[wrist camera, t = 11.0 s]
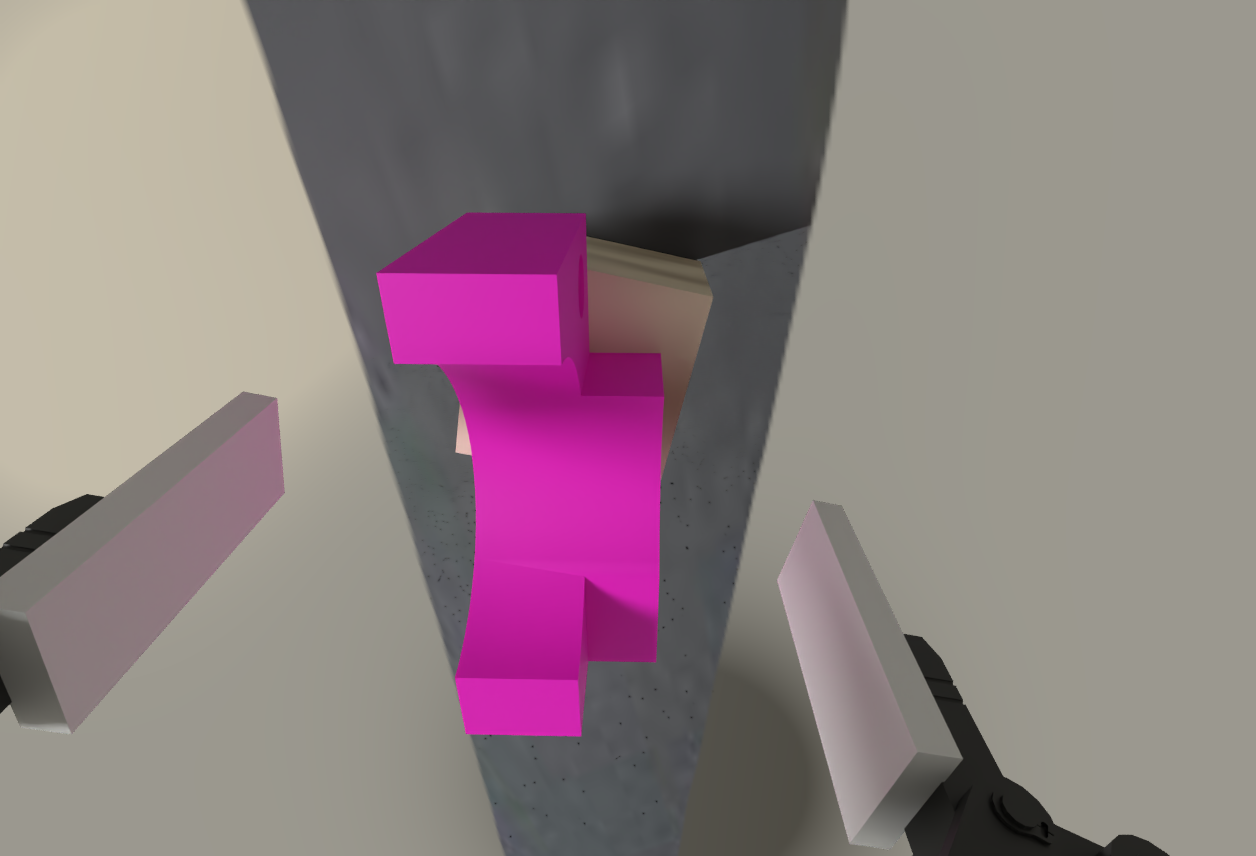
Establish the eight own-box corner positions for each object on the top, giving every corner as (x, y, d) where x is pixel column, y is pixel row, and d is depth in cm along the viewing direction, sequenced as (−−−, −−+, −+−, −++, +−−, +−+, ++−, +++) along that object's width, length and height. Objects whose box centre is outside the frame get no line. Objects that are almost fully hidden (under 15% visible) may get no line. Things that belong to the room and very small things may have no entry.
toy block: (653, 576, 26) (658, 737, 20) (509, 574, 26) (466, 734, 20) (665, 213, 19) (677, 276, 13) (467, 212, 19) (376, 273, 13)
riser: (504, 217, 24) (474, 244, 20) (700, 261, 25) (713, 297, 20) (484, 396, 28) (455, 452, 23) (655, 429, 28) (657, 490, 24)
